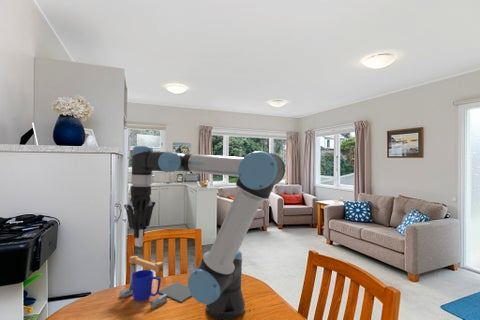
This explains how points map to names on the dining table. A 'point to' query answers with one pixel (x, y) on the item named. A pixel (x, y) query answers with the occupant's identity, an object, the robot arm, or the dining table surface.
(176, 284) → the coaster
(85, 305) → the dining table surface
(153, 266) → the ball-tipped wooden rod
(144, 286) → the mug
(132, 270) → the dock
